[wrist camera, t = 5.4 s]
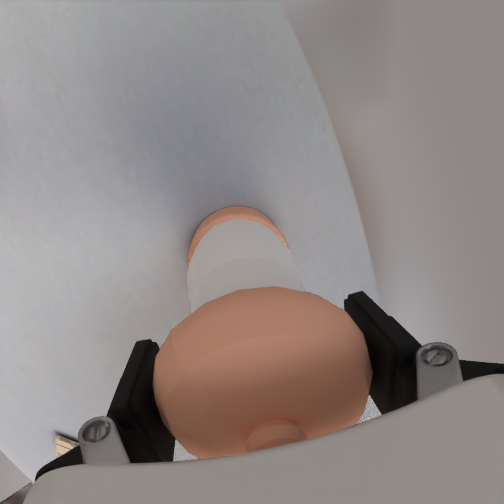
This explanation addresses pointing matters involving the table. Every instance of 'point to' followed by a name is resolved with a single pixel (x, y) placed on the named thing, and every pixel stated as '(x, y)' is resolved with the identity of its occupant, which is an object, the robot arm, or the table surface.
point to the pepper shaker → (256, 347)
